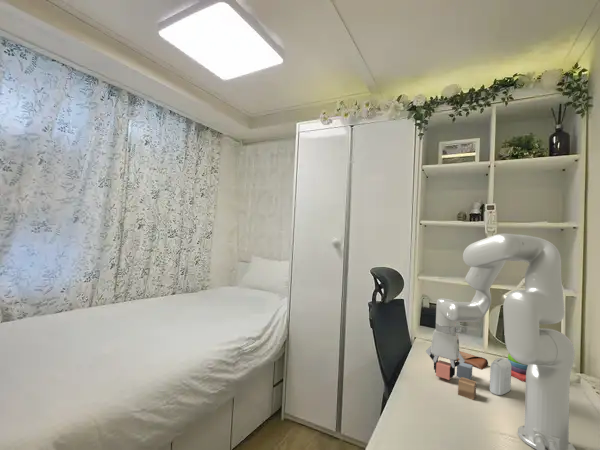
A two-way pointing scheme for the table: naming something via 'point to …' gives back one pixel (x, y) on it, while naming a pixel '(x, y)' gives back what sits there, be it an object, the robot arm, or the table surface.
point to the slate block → (464, 371)
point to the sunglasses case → (474, 360)
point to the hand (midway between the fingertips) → (444, 373)
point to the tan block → (467, 388)
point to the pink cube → (443, 369)
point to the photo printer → (500, 376)
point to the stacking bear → (518, 369)
